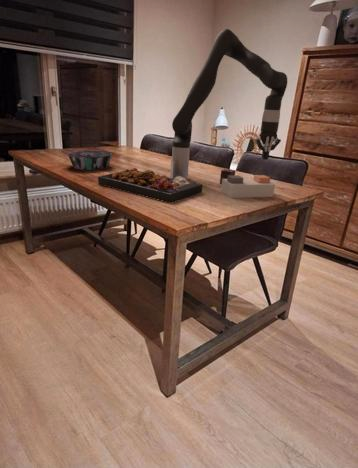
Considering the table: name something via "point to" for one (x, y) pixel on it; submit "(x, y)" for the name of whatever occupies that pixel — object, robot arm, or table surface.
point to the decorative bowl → (90, 159)
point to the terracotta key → (261, 179)
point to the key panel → (247, 189)
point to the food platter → (151, 184)
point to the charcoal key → (235, 179)
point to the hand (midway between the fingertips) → (264, 159)
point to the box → (226, 174)
